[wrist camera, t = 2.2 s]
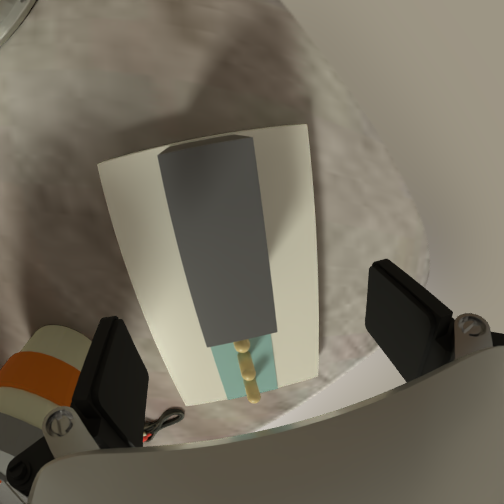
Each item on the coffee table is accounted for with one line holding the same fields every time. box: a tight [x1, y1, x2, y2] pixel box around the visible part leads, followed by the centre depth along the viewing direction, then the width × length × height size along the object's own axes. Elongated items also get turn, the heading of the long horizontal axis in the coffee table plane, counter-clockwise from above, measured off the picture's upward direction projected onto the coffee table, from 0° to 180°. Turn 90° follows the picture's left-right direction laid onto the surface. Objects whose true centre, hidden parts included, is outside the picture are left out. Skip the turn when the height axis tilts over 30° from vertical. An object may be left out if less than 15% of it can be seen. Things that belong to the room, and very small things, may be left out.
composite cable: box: [143, 409, 184, 442], centre depth 30 cm, size 10×5×2 cm, turn 112°
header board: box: [97, 124, 319, 406], centre depth 22 cm, size 24×14×5 cm, turn 8°
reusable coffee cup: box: [0, 325, 92, 482], centre depth 18 cm, size 13×13×15 cm
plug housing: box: [157, 134, 278, 348], centre depth 17 cm, size 11×4×6 cm, turn 8°
